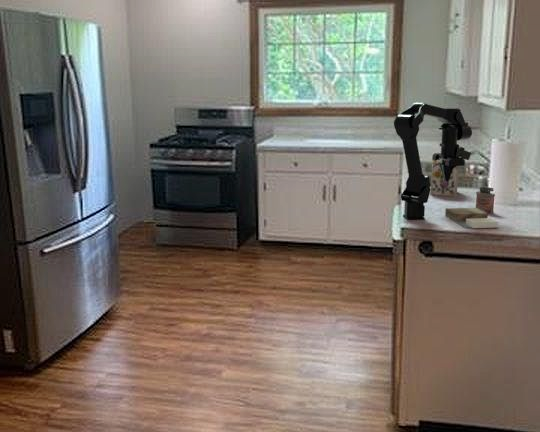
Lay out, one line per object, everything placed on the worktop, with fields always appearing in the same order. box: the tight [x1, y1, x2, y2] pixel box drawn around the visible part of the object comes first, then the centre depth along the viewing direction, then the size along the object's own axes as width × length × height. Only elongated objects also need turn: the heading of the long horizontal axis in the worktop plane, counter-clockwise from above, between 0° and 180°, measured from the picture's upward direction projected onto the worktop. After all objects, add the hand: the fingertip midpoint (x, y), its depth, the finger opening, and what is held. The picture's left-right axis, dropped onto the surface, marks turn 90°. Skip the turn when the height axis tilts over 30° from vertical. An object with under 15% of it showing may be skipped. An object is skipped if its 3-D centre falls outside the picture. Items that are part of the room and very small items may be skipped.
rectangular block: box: [466, 217, 499, 229], centre depth 206 cm, size 9×6×2 cm, turn 96°
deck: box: [444, 207, 489, 223], centre depth 218 cm, size 12×10×3 cm
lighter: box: [475, 185, 496, 215], centre depth 229 cm, size 8×3×10 cm, turn 31°
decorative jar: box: [429, 160, 460, 197], centre depth 265 cm, size 12×12×18 cm
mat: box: [454, 221, 499, 229], centre depth 209 cm, size 12×9×1 cm
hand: (446, 181), depth 228 cm, fingers closed
